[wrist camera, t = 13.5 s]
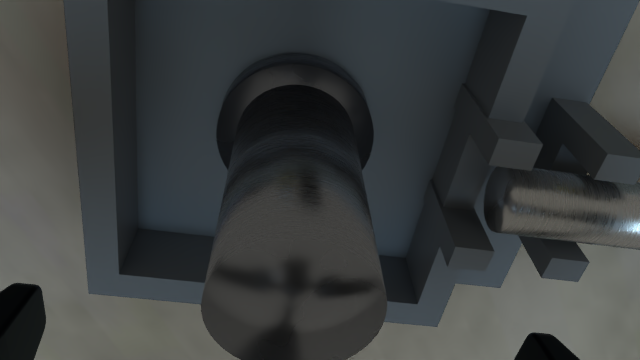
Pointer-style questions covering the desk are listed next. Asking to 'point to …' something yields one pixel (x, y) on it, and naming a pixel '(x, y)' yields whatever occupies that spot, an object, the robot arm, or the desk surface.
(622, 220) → the pin
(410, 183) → the tray
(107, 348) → the desk surface
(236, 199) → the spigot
